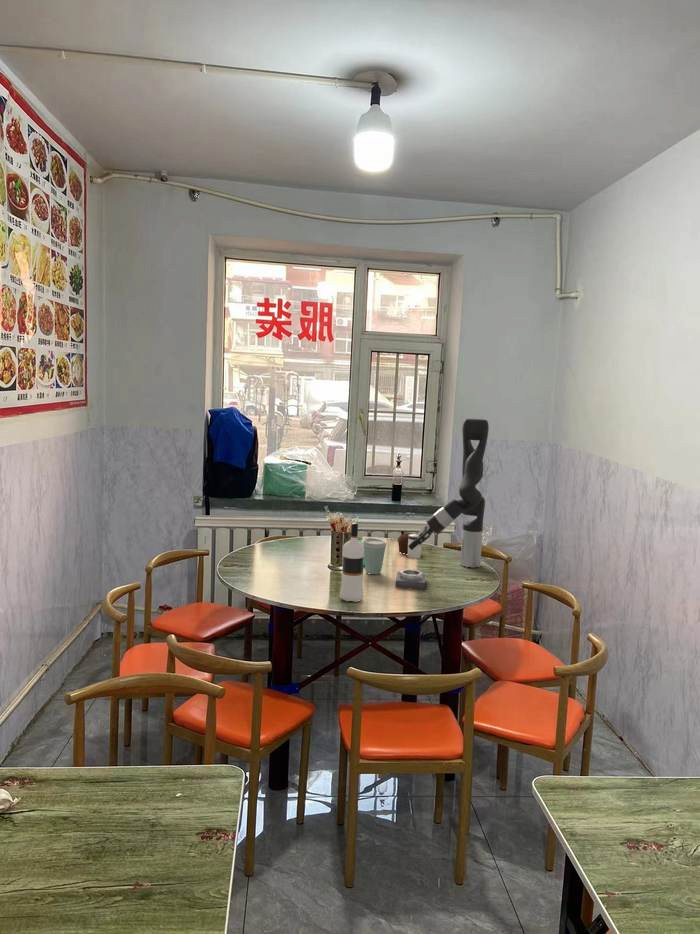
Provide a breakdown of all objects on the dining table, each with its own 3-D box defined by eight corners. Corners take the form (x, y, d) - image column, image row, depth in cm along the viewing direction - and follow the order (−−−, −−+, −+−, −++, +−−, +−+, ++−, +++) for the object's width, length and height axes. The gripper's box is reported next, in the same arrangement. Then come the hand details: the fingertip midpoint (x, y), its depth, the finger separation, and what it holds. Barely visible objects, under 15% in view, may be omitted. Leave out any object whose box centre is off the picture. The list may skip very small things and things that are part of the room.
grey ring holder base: (397, 578, 296) (397, 567, 295) (424, 580, 294) (425, 569, 294) (395, 587, 282) (396, 575, 281) (424, 589, 281) (425, 578, 280)
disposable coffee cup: (389, 572, 304) (390, 539, 302) (377, 578, 295) (379, 544, 293) (368, 568, 309) (369, 536, 307) (356, 573, 300) (358, 540, 298)
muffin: (402, 549, 349) (403, 530, 348) (422, 552, 345) (423, 533, 343) (393, 553, 339) (394, 534, 338) (414, 557, 334) (415, 537, 333)
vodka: (334, 598, 264) (337, 522, 260) (350, 593, 271) (354, 519, 267) (351, 604, 258) (355, 526, 254) (368, 599, 264) (372, 523, 261)
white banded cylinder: (407, 554, 289) (408, 533, 288) (420, 555, 289) (421, 534, 288) (407, 557, 284) (408, 536, 283) (420, 558, 283) (421, 537, 282)
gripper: (434, 510, 291) (404, 536, 293) (434, 516, 276) (403, 543, 279) (445, 523, 291) (416, 549, 293) (446, 530, 276) (415, 557, 279)
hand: (410, 546), depth 286 cm, fingers closed on white banded cylinder, 5 cm apart
